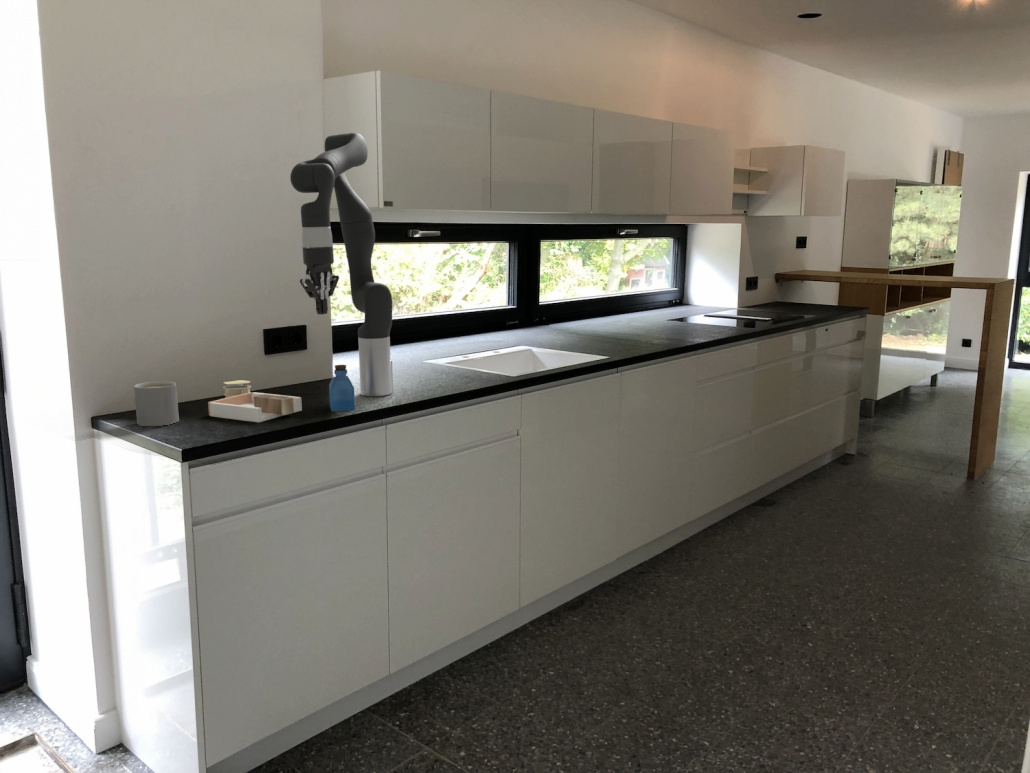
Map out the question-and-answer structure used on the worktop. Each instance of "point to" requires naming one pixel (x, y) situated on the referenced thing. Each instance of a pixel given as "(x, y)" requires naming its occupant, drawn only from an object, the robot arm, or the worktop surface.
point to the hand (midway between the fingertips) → (322, 314)
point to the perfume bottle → (341, 391)
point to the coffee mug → (156, 403)
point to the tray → (245, 408)
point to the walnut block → (274, 404)
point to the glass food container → (236, 388)
